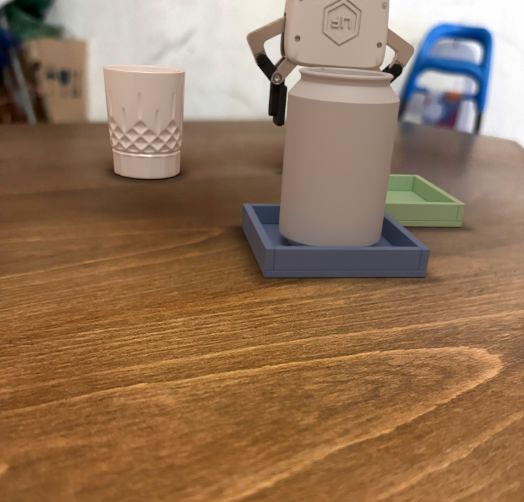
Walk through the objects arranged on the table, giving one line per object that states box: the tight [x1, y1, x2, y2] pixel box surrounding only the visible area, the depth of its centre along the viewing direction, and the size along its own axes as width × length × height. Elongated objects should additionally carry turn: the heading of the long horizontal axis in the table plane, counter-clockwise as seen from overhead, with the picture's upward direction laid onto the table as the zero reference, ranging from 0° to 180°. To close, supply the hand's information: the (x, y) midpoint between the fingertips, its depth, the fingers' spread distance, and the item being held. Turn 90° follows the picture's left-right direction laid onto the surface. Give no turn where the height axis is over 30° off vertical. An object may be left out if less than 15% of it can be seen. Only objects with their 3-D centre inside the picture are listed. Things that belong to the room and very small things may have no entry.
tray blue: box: [241, 202, 431, 279], centre depth 49 cm, size 11×11×2 cm
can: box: [279, 67, 401, 247], centre depth 47 cm, size 8×8×12 cm
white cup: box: [102, 64, 186, 180], centre depth 67 cm, size 8×8×10 cm
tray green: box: [384, 173, 466, 228], centre depth 61 cm, size 11×11×2 cm
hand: (322, 126), depth 71 cm, fingers open, 9 cm apart
